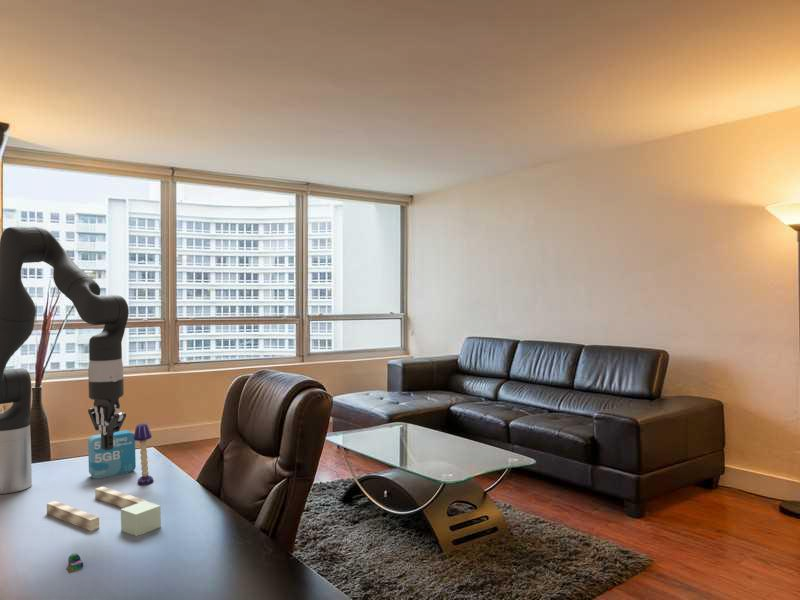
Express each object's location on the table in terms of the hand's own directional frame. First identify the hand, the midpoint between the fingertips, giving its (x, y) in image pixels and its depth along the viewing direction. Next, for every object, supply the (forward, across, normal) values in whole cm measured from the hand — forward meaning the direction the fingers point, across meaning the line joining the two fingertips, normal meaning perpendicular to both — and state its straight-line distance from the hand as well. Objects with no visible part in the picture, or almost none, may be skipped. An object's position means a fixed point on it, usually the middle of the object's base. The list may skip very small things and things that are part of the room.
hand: (107, 449), depth 139 cm
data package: (+17, -31, +19) cm, 40 cm away
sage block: (+16, +14, 0) cm, 21 cm away
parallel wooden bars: (+16, -5, 0) cm, 17 cm away
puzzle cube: (+17, +19, -18) cm, 31 cm away
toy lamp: (+17, -15, +19) cm, 29 cm away
